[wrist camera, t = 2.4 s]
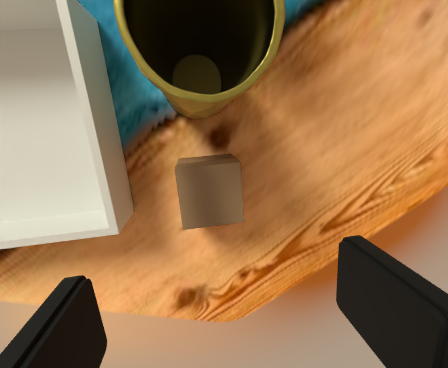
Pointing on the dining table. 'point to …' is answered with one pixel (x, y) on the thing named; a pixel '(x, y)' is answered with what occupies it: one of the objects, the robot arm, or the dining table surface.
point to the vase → (201, 47)
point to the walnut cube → (209, 191)
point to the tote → (57, 128)
